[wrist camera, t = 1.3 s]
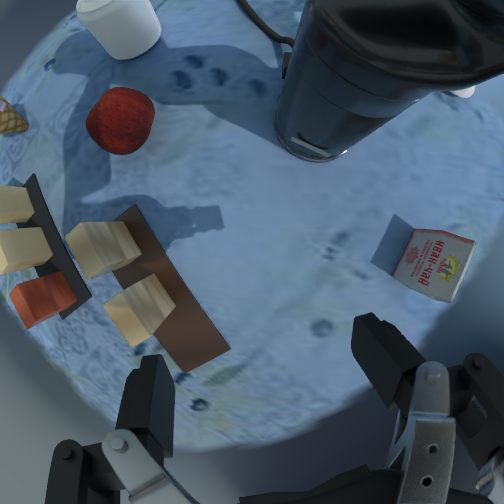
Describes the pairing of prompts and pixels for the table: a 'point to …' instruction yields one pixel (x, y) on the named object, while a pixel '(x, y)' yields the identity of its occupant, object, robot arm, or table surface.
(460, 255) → the white tea box
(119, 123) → the apple
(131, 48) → the beverage can
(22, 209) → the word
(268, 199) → the table surface
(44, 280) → the orange rectangular block
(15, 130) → the ice cream cone
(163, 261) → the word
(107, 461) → the robot arm
